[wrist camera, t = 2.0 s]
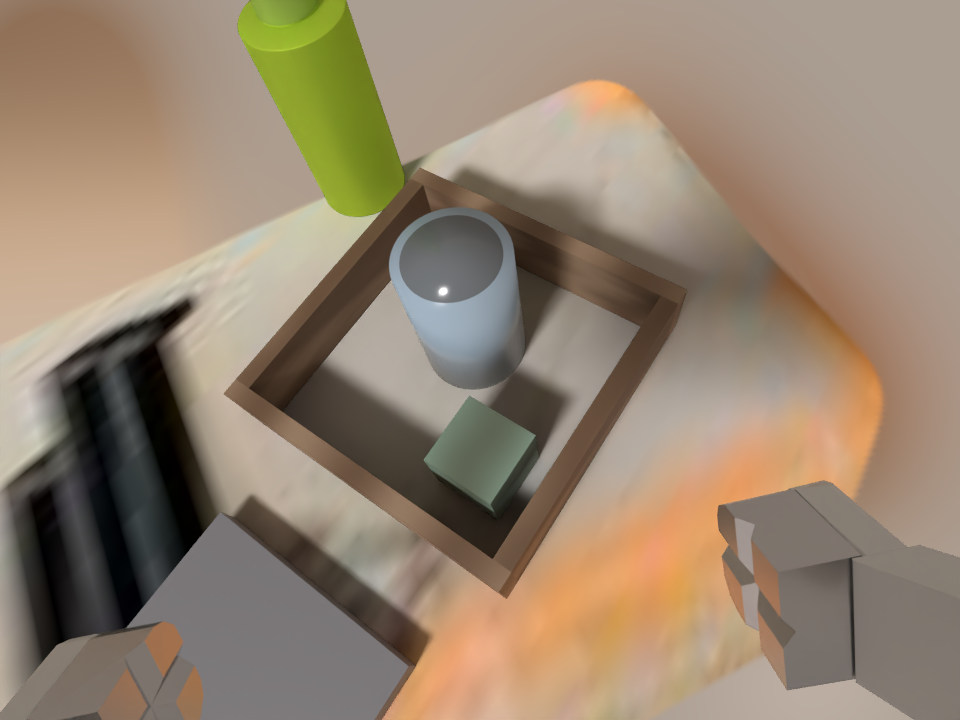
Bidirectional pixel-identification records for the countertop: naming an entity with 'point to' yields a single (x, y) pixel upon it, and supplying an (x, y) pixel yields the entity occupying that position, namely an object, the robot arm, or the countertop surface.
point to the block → (483, 456)
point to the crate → (365, 277)
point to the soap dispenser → (326, 98)
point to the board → (271, 636)
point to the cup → (461, 295)
